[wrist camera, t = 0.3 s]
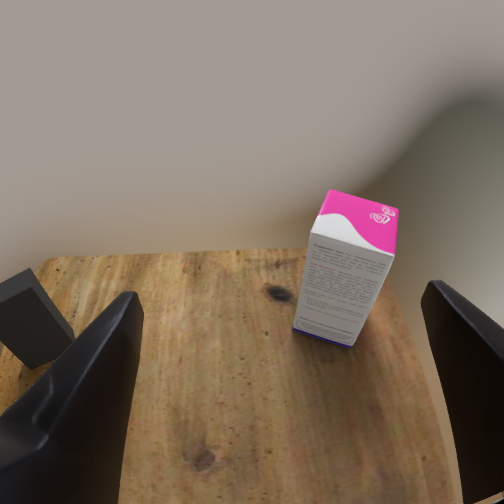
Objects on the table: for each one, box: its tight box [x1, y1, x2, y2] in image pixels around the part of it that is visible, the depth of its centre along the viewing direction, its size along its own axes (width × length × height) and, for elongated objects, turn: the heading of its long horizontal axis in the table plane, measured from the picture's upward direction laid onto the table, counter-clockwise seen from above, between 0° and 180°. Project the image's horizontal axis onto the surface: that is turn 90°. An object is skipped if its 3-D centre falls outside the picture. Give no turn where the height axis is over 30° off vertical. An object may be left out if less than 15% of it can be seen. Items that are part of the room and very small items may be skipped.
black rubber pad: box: [0, 268, 75, 369], centre depth 22 cm, size 2×6×9 cm, turn 124°
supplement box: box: [292, 189, 399, 348], centre depth 25 cm, size 6×6×12 cm
